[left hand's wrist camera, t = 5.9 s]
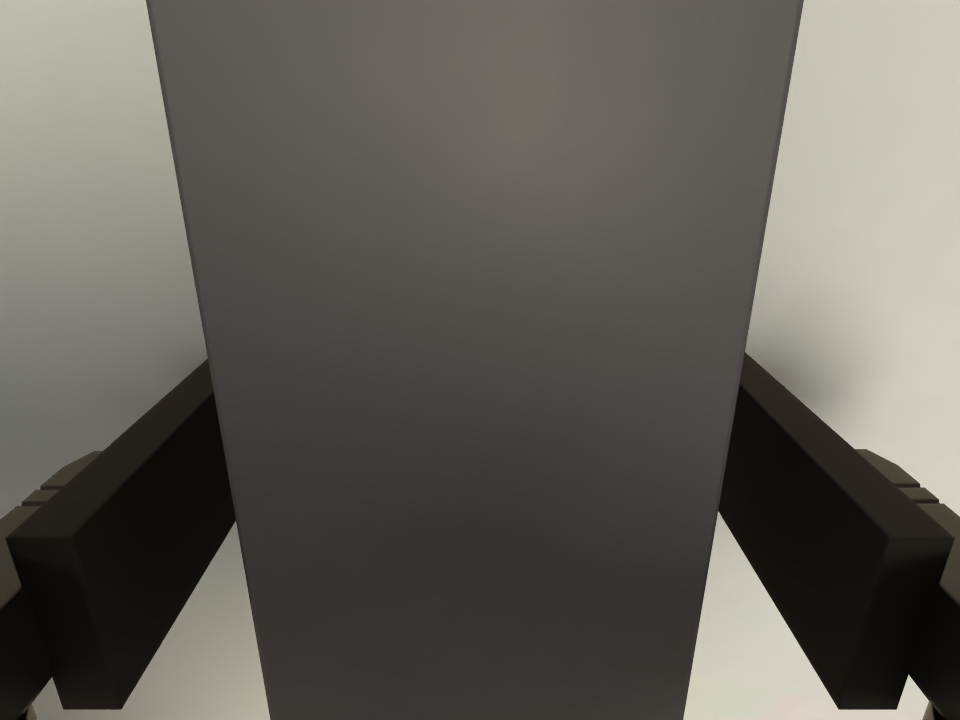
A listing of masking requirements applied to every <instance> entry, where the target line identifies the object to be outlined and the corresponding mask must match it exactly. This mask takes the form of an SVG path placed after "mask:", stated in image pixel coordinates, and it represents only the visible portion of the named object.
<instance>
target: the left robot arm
mask: <svg viewBox="0 0 960 720" xmlns="http://www.w3.org/2000/svg"><path fill="white" fill-rule="evenodd" d="M718 511H719V513H720V514H721V516H722V518H723V519H724V521H725V523H726V524H727V526H728V528H729V529H730V531H731V533H732V534H733V536H734V537H735V539H736V541H737V542H738V544H739V546H740V547H741V549H742V551H743V552H744V554H745V556H746V557H747V559H748V561H749V562H750V564H751V566H752V567H753V569H754V570H755V572H756V574H757V575H758V577H759V579H760V580H761V582H762V584H763V585H764V587H765V589H766V590H767V592H768V594H769V595H770V597H771V599H772V600H773V602H774V603H775V605H776V607H777V608H778V610H779V612H780V613H781V615H782V617H783V618H784V620H785V622H786V623H787V625H788V627H789V628H790V630H791V632H792V633H793V635H794V636H795V638H796V640H797V641H798V643H799V645H800V646H801V648H802V650H803V651H804V653H805V655H806V656H807V658H808V660H809V661H810V663H811V665H812V666H813V668H814V669H815V671H816V673H817V674H818V676H819V678H820V679H821V681H822V683H823V684H824V686H825V688H826V689H827V691H828V693H829V694H830V696H831V697H832V699H833V701H834V702H835V704H836V706H837V707H838V709H897V706H898V704H899V701H900V698H901V695H902V692H903V689H904V686H905V683H906V680H907V677H908V674H909V675H910V677H911V678H912V679H913V681H914V682H915V683H916V684H917V686H918V687H919V688H920V690H921V691H922V692H923V694H924V695H925V696H926V697H927V699H928V700H929V703H928V706H927V709H926V711H925V714H924V717H923V720H960V517H959V516H958V515H957V514H956V513H954V512H953V511H952V510H951V509H950V508H948V507H947V506H946V505H945V504H940V503H939V499H938V498H936V497H935V496H934V495H933V494H932V493H930V492H929V491H928V490H927V489H926V488H921V487H920V483H918V482H917V481H916V480H915V479H914V478H912V477H911V476H910V475H909V474H908V473H906V472H905V471H904V470H903V469H902V468H900V467H899V466H898V465H896V464H894V463H892V462H890V461H888V460H886V459H884V458H882V457H880V456H878V455H876V454H875V453H873V452H871V451H869V450H867V449H854V448H853V447H851V446H850V445H849V444H848V443H847V442H846V441H845V440H844V439H842V438H841V437H840V436H839V435H838V434H837V433H836V432H835V431H833V430H832V429H831V428H830V427H829V426H828V425H827V424H826V423H824V422H823V421H822V420H821V419H820V418H819V417H818V416H816V415H815V414H814V413H813V412H812V411H811V410H810V409H809V408H807V407H806V406H805V405H804V404H803V403H802V402H801V401H800V400H798V399H797V398H796V397H795V396H794V395H793V394H792V393H790V392H789V391H788V390H787V389H786V388H785V387H784V386H783V385H781V384H780V383H779V382H778V381H777V380H776V379H775V378H774V377H772V376H771V375H770V374H769V373H768V372H767V371H766V370H765V369H763V368H762V367H761V366H760V365H759V364H758V363H757V362H755V361H754V360H753V359H752V358H751V357H750V356H749V355H748V354H746V353H744V359H743V365H742V371H741V377H740V383H739V389H738V395H737V401H736V407H735V413H734V419H733V425H732V430H731V436H730V442H729V448H728V454H727V460H726V466H725V472H724V478H723V484H722V490H721V496H720V502H719V508H718ZM235 521H236V517H235V511H234V505H233V500H232V494H231V488H230V482H229V476H228V471H227V465H226V459H225V453H224V448H223V442H222V436H221V430H220V424H219V419H218V413H217V407H216V401H215V396H214V390H213V384H212V378H211V372H210V367H209V361H208V359H207V360H206V361H205V362H203V363H202V364H201V365H200V366H199V367H198V368H197V369H195V370H194V371H193V372H192V373H191V374H190V375H189V376H188V377H186V378H185V379H184V380H183V381H182V382H181V383H180V384H179V385H177V386H176V387H175V388H174V389H173V390H172V391H171V392H169V393H168V394H167V395H166V396H165V397H164V398H163V399H162V400H160V401H159V402H158V403H157V404H156V405H155V406H154V407H153V408H151V409H150V410H149V411H148V412H147V413H146V414H145V415H144V416H142V417H141V418H140V419H139V420H138V421H137V422H136V423H134V424H133V425H132V426H131V427H130V428H129V429H128V430H127V431H125V432H124V433H123V434H122V435H121V436H120V437H119V438H118V439H116V440H115V441H114V442H113V443H112V444H111V445H110V446H108V447H107V448H106V449H105V450H104V451H94V452H92V453H90V454H88V455H86V456H84V457H82V458H80V459H79V460H77V461H75V462H73V463H71V464H69V465H67V466H65V467H63V468H62V469H61V470H59V471H58V472H57V473H56V474H55V475H53V476H52V477H51V478H50V479H49V480H47V481H46V482H45V483H44V484H43V485H41V489H40V490H36V491H34V492H33V493H32V494H31V495H30V496H28V497H27V498H26V499H25V500H24V501H22V505H21V506H16V507H15V508H14V509H13V510H12V511H10V512H9V513H8V514H7V515H6V516H5V517H3V518H2V519H1V520H0V720H37V718H36V714H35V711H34V709H33V706H32V702H33V701H34V700H35V698H36V697H37V696H38V694H39V693H40V692H41V691H42V689H43V688H44V687H45V685H46V684H47V683H48V681H49V680H50V679H51V677H53V680H54V683H55V686H56V689H57V692H58V695H59V698H60V701H61V704H62V707H63V709H122V707H123V706H124V704H125V702H126V701H127V699H128V697H129V696H130V694H131V693H132V691H133V689H134V688H135V686H136V684H137V683H138V681H139V679H140V678H141V676H142V674H143V673H144V671H145V669H146V668H147V666H148V664H149V663H150V661H151V660H152V658H153V656H154V655H155V653H156V651H157V650H158V648H159V646H160V645H161V643H162V641H163V640H164V638H165V636H166V635H167V633H168V631H169V630H170V628H171V627H172V625H173V623H174V622H175V620H176V618H177V617H178V615H179V613H180V612H181V610H182V608H183V607H184V605H185V603H186V602H187V600H188V599H189V597H190V595H191V594H192V592H193V590H194V589H195V587H196V585H197V584H198V582H199V580H200V579H201V577H202V575H203V574H204V572H205V570H206V569H207V567H208V566H209V564H210V562H211V561H212V559H213V557H214V556H215V554H216V552H217V551H218V549H219V547H220V546H221V544H222V542H223V541H224V539H225V537H226V536H227V534H228V533H229V531H230V529H231V528H232V526H233V524H234V523H235Z"/></svg>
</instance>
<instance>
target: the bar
mask: <svg viewBox="0 0 960 720" xmlns="http://www.w3.org/2000/svg"><path fill="white" fill-rule="evenodd" d="M803 1H804V0H146V3H147V8H148V14H149V20H150V26H151V32H152V37H153V43H154V49H155V55H156V60H157V66H158V72H159V78H160V84H161V89H162V95H163V101H164V107H165V112H166V118H167V124H168V130H169V136H170V141H171V147H172V153H173V159H174V164H175V170H176V176H177V182H178V188H179V193H180V199H181V205H182V211H183V216H184V222H185V228H186V234H187V240H188V245H189V251H190V257H191V263H192V268H193V274H194V280H195V286H196V292H197V297H198V303H199V309H200V315H201V320H202V326H203V332H204V338H205V344H206V349H207V355H208V361H209V367H210V372H211V378H212V384H213V390H214V396H215V401H216V407H217V413H218V419H219V424H220V430H221V436H222V442H223V448H224V453H225V459H226V465H227V471H228V476H229V482H230V488H231V494H232V500H233V505H234V511H235V517H236V523H237V528H238V534H239V540H240V546H241V552H242V557H243V563H244V569H245V575H246V580H247V586H248V592H249V598H250V604H251V609H252V615H253V621H254V627H255V632H256V638H257V644H258V650H259V656H260V661H261V667H262V673H263V679H264V684H265V690H266V696H267V702H268V708H269V713H270V719H271V720H683V717H684V711H685V705H686V699H687V693H688V687H689V681H690V675H691V669H692V663H693V657H694V651H695V645H696V639H697V633H698V627H699V621H700V615H701V609H702V603H703V597H704V591H705V586H706V580H707V574H708V568H709V562H710V556H711V550H712V544H713V538H714V532H715V526H716V520H717V514H718V508H719V502H720V496H721V490H722V484H723V478H724V472H725V466H726V460H727V454H728V448H729V442H730V436H731V430H732V425H733V419H734V413H735V407H736V401H737V395H738V389H739V383H740V377H741V371H742V365H743V359H744V353H745V347H746V341H747V335H748V329H749V323H750V317H751V311H752V305H753V299H754V293H755V287H756V281H757V275H758V269H759V264H760V258H761V252H762V246H763V240H764V234H765V228H766V222H767V216H768V210H769V204H770V198H771V192H772V186H773V180H774V174H775V168H776V162H777V156H778V150H779V144H780V138H781V132H782V126H783V120H784V114H785V108H786V103H787V97H788V91H789V85H790V79H791V73H792V67H793V61H794V55H795V49H796V43H797V37H798V31H799V25H800V19H801V13H802V7H803Z"/></svg>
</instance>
